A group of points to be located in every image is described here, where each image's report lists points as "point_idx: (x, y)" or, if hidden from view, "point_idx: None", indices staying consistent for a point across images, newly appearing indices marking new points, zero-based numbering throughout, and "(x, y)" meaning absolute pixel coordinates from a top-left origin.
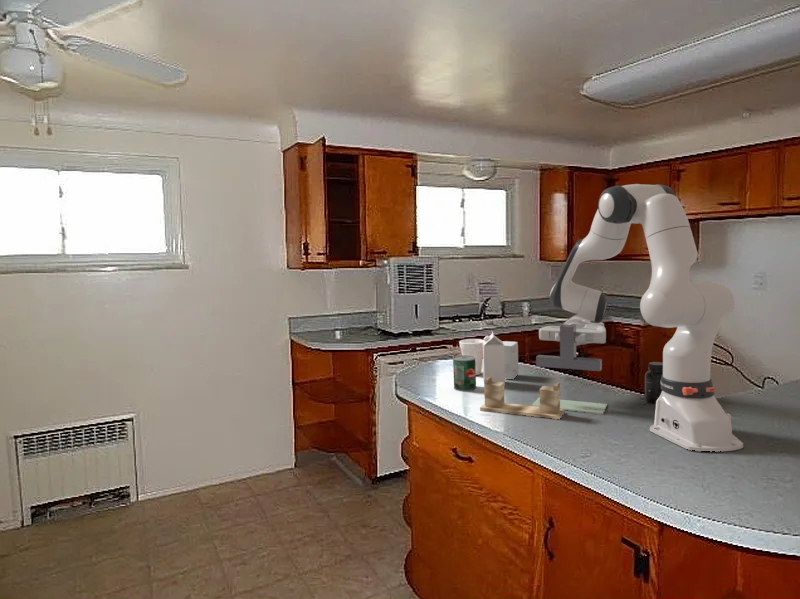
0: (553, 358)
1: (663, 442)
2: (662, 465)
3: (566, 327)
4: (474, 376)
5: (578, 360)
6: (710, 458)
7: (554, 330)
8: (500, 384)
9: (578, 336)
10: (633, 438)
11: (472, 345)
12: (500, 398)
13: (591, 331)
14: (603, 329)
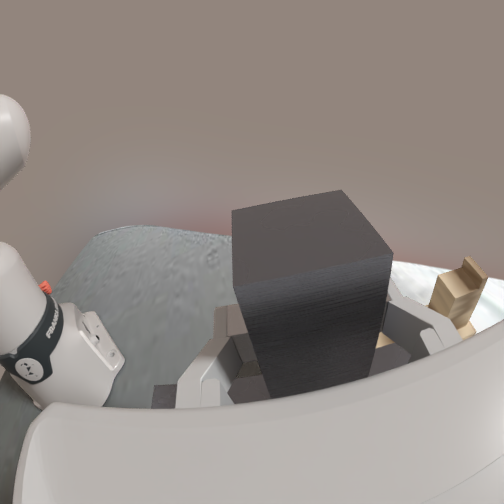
0: (375, 350)
1: (116, 327)
2: (134, 272)
3: (289, 203)
4: None
5: (252, 378)
6: (84, 306)
7: (482, 331)
8: (446, 282)
9: (222, 313)
10: (152, 324)
11: None
12: (431, 300)
13: (113, 418)
14: (24, 461)
